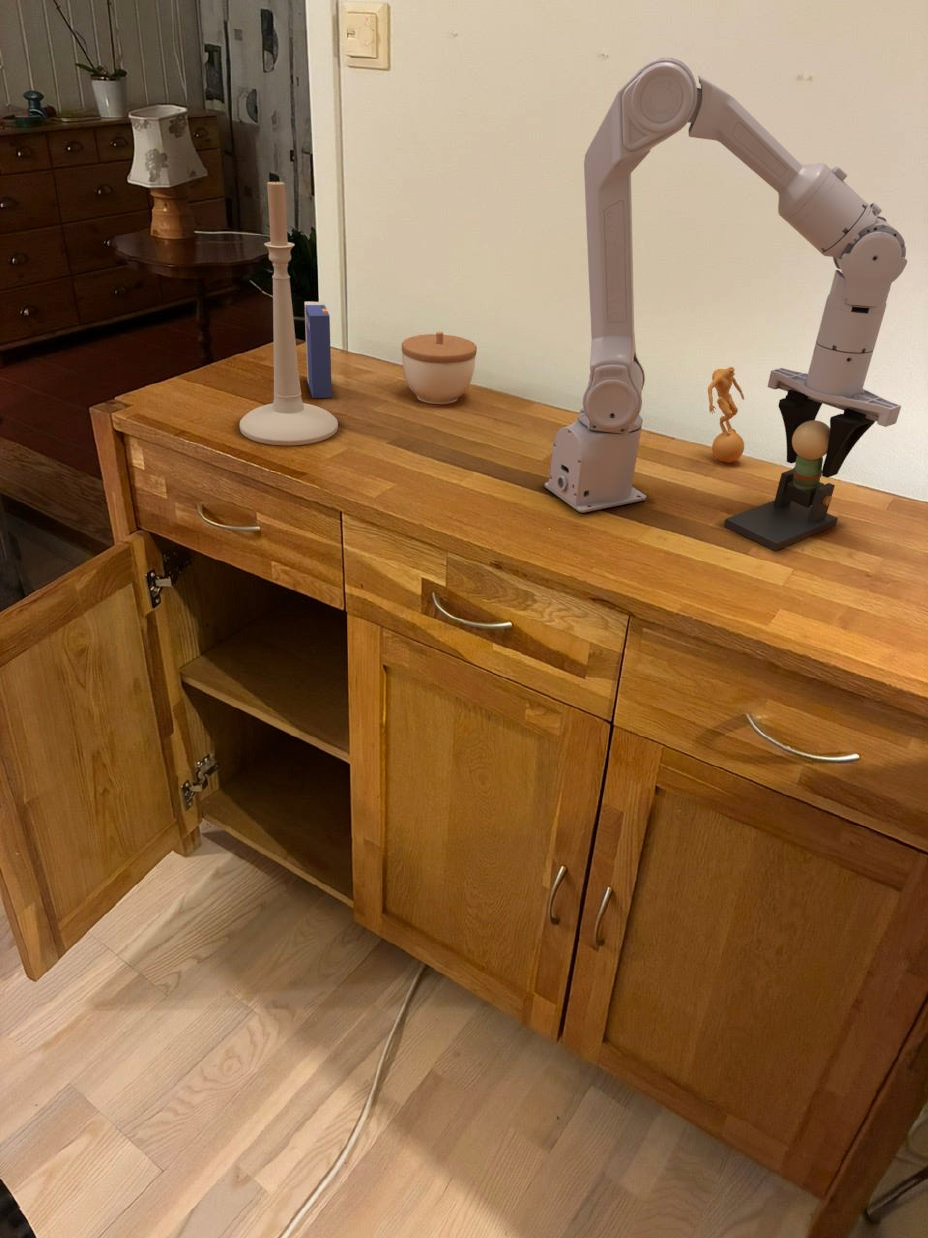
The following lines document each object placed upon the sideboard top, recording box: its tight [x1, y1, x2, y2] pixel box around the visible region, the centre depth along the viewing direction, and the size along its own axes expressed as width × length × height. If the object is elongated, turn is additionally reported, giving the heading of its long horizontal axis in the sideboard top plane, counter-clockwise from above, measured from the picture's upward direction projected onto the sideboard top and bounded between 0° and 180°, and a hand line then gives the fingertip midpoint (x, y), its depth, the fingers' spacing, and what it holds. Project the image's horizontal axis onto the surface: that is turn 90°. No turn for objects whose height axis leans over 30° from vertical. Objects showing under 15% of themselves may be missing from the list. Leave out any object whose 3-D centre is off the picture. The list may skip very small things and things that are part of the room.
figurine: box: [707, 366, 745, 464], centre depth 116 cm, size 8×6×12 cm
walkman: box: [304, 301, 333, 399], centre depth 132 cm, size 8×3×12 cm, turn 14°
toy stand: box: [723, 468, 839, 552], centre depth 102 cm, size 12×7×5 cm, turn 128°
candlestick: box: [239, 178, 339, 446], centre depth 113 cm, size 13×13×30 cm
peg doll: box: [786, 419, 830, 508], centre depth 101 cm, size 4×4×10 cm
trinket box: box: [401, 331, 478, 405], centre depth 132 cm, size 11×11×9 cm
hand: (811, 467), depth 102 cm, fingers closed on peg doll, 4 cm apart
